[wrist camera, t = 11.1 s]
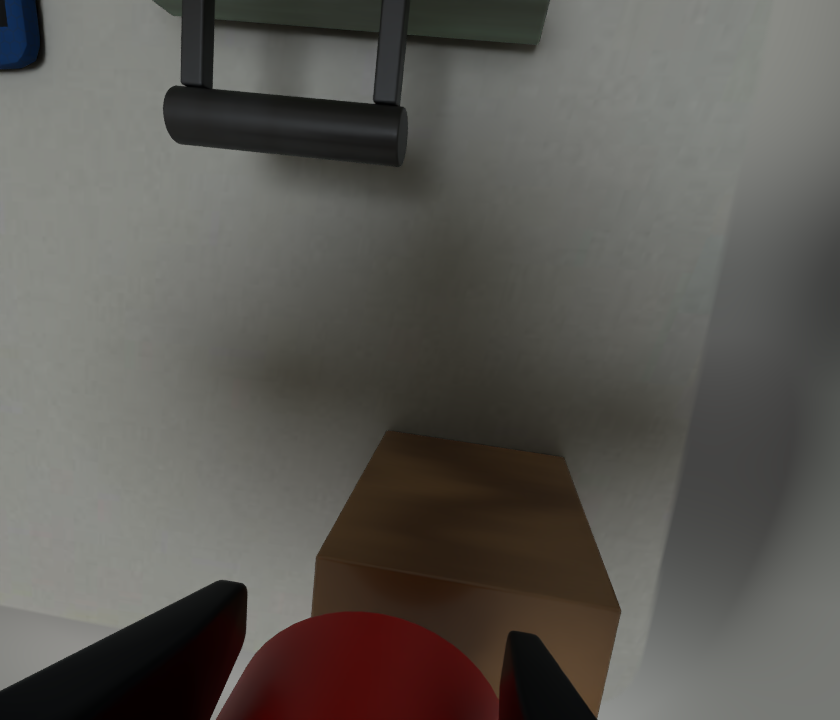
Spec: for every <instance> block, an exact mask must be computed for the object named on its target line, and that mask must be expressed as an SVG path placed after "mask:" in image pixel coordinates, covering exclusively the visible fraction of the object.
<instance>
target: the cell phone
mask: <svg viewBox="0 0 840 720" xmlns="http://www.w3.org/2000/svg"><path fill="white" fill-rule="evenodd" d="M39 48H40V35H39V26H38V18H37V10H36V2H35V0H0V69H18V68H23V67H25V66H27V65H29V64H31V63H33V62H35V61H36V59H37V55H38V51H39Z"/></svg>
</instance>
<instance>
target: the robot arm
mask: <svg viewBox="0 0 840 720" xmlns="http://www.w3.org/2000/svg"><path fill="white" fill-rule="evenodd" d="M246 620H247V588H246V586H245V585H244V584H243V583H238V582H233V581H227V580H219V581H216V582H214V583H212V584H210V585H208V586H206V587H204V588H202V589H200V590H198V591H196V592H194V593H192V594H190V595H188V596H187V597H185V598H183V599H181V600H179V601H177V602H175V603H173V604H171V605H169V606H167V607H165V608H163V609H161V610H159V611H157V612H155V613H153V614H151V615H149V616H147V617H145V618H143V619H141V620H139V621H137V622H135V623H133V624H131V625H129V626H127V627H125V628H123V629H121V630H119V631H117V632H116V633H114V634H112V635H110V636H108V637H106V638H104V639H102V640H100V641H98V642H96V643H94V644H92V645H90V646H88V647H86V648H84V649H82V650H80V651H78V652H76V653H74V654H72V655H70V656H68V657H66V658H64V659H63V660H60V661H58V662H57V663H55V664H53V665H51V666H49V667H47V668H45V669H43V670H41V671H39V672H37V673H35V674H33V675H31V676H29V677H27V678H25V679H23V680H21V681H19V682H17V683H15V684H13V685H11V686H9V687H7V688H5V689H3V690H1V691H0V720H210V718H211V715H212V714H213V711H214V709H215V707H216V705H217V702H218V700H219V698H220V696H221V693H222V691H223V689H224V687H225V684H226V682H227V680H228V678H229V675H230V673H231V671H232V668H233V666H234V664H235V662H236V660H237V657H238V655H239V653H240V651H241V648H242V646H243V643H244V639H245V634H246ZM499 720H597V718H596V717H595V716H594V714H593V713H592V711H591V710H590V709H589V707H588V706H587V704H586V703H585V701H584V700H583V699H582V697H581V696H580V694H579V693H578V692H577V690H576V689H575V687H574V686H573V684H572V683H571V682H570V680H569V679H568V677H567V676H566V675H565V673H564V672H563V670H562V669H561V668H560V666H559V665H558V663H557V662H556V660H555V659H554V658H553V656H552V655H551V653H550V652H549V651H548V649H547V648H546V646H545V645H544V643H543V642H542V641H541V639H540V638H539V637H538V636H537V635H535V634H531V633H525V632H520V631H510V632H509V634H508V636H507V641H506V647H505V653H504V660H503V666H502V672H501V679H500V689H499Z"/></svg>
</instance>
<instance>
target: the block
mask: <svg viewBox="0 0 840 720" xmlns="http://www.w3.org/2000/svg"><path fill="white" fill-rule="evenodd" d="M344 611H364V612H372V613H380V614H385V615H389V616H393V617H397V618H401V619H404V620H407V621H409V622H412V623H415V624H418V625H420V626H422V627H424V628H426V629H428V630H430V631H432V632H434V633H436V634H438V635H439V636H441V637H442V638H444V639H445V640H447V641H448V642H450V643H451V644H453V645H454V646H455V647H456V648H457V649H459V650H460V651H461V652H462V653H463V654H465V655H466V656H467V657H468V658H469V659H470V660H471V661H472V662H473V663H474V664H475V666H476V667H477V668H478V669H479V670H480V671H481V673H482V674H483V675H484V677H485V678H486V679H487V681H488V682H489V684H490V685H491V687H492V689H493V690H494V692H495V694H496V696H497V698H498V700H499V689H500V679H501V672H502V666H503V660H504V653H505V647H506V641H507V636H508V634H509V632H510V631H520V632H525V633H531V634H535V635H537V636H538V637H539V638H540V639H541V641H542V642H543V643H544V645H545V646H546V648H547V649H548V651H549V652H550V653H551V655H552V656H553V658H554V659H555V660H556V662H557V663H558V665H559V666H560V668H561V669H562V670H563V672H564V673H565V675H566V676H567V677H568V679H569V680H570V682H571V683H572V684H573V686H574V687H575V689H576V690H577V692H578V693H579V694H580V696H581V697H582V699H583V700H584V701H585V703H586V704H587V706H588V707H589V709H590V710H591V711H592V713H593V714H594V716H595V717H596V718H597V717H598V712H599V708H600V704H601V699H602V695H603V690H604V686H605V681H606V677H607V672H608V668H609V663H610V659H611V655H612V650H613V646H614V641H615V637H616V632H617V628H618V623H619V619H620V614H621V608H620V606H619V603H618V600H617V598H616V595H615V592H614V590H613V587H612V584H611V582H610V579H609V576H608V574H607V571H606V568H605V566H604V563H603V560H602V558H601V555H600V552H599V550H598V547H597V544H596V542H595V539H594V536H593V534H592V531H591V528H590V526H589V523H588V520H587V518H586V515H585V512H584V510H583V507H582V504H581V502H580V499H579V496H578V494H577V491H576V488H575V486H574V483H573V480H572V478H571V475H570V472H569V470H568V467H567V464H566V462H565V459H564V458H563V457H559V456H552V455H546V454H539V453H533V452H526V451H520V450H513V449H507V448H500V447H493V446H487V445H480V444H474V443H467V442H461V441H454V440H448V439H441V438H435V437H428V436H422V435H415V434H408V433H402V432H395V431H389V430H388V431H386V432H385V434H384V436H383V438H382V440H381V441H380V443H379V445H378V447H377V449H376V450H375V452H374V454H373V456H372V458H371V459H370V461H369V463H368V465H367V466H366V468H365V470H364V472H363V474H362V475H361V477H360V479H359V481H358V483H357V484H356V486H355V488H354V490H353V492H352V493H351V495H350V497H349V499H348V500H347V502H346V504H345V506H344V508H343V509H342V511H341V513H340V515H339V517H338V518H337V520H336V522H335V524H334V526H333V527H332V529H331V531H330V533H329V535H328V536H327V538H326V540H325V542H324V543H323V545H322V547H321V549H320V551H319V552H318V554H317V556H316V563H315V576H314V588H313V600H312V612H311V617H315V616H319V615H323V614H327V613H335V612H344Z"/></svg>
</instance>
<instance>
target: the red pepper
mask: <svg viewBox="0 0 840 720" xmlns="http://www.w3.org/2000/svg"><path fill="white" fill-rule="evenodd" d="M216 720H499V700H498V698H497V696H496V694H495V692H494V690H493V689H492V687H491V685H490V684H489V682H488V681H487V679H486V678H485V677H484V675H483V674H482V673H481V671H480V670H479V669H478V668H477V667H476V666H475V664H474V663H473V662H472V661H471V660H470V659H469V658H468V657H467V656H466V655H465V654H463V653H462V652H461V651H460V650H459V649H457V648H456V647H455V646H454V645H453V644H451V643H450V642H448V641H447V640H445V639H444V638H442V637H441V636H439V635H438V634H436V633H434V632H432V631H430V630H428V629H426V628H424V627H422V626H420V625H418V624H415V623H412V622H409V621H407V620H404V619H401V618H397V617H393V616H389V615H385V614H380V613H372V612H364V611H344V612H335V613H327V614H323V615H319V616H315V617H311V618H308V619H305V620H303V621H300V622H298V623H295V624H293V625H292V626H290V627H288V628H286V629H284V630H283V631H281V632H279V633H278V634H276V635H275V636H274V637H273V638H271V639H270V640H269V641H267V642H266V643H265V644H264V645H263V646H262V647H261V648H260V649H259V650H258V652H257V653H256V654H255V655H254V657H253V658H252V659H251V661H250V662H249V664H248V665H247V667H246V668H245V670H244V672H243V674H242V675H241V677H240V679H239V680H238V682H237V684H236V686H235V688H234V689H233V691H232V693H231V694H230V696H229V698H228V699H227V701H226V703H225V705H224V706H223V708H222V710H221V712H220V713H219V715H218V717H217V719H216Z"/></svg>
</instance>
